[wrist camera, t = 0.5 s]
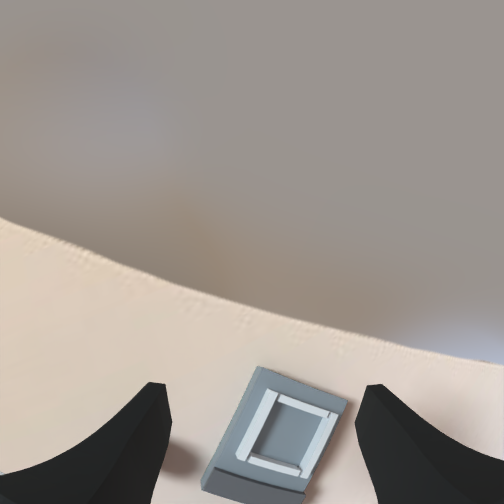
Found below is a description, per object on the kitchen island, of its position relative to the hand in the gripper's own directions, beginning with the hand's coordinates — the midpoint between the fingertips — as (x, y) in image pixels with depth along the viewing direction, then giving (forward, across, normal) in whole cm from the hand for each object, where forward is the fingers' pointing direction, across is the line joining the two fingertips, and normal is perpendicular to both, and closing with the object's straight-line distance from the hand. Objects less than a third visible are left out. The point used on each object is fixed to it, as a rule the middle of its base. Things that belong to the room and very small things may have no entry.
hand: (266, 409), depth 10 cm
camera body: (+16, -2, +22) cm, 27 cm away
